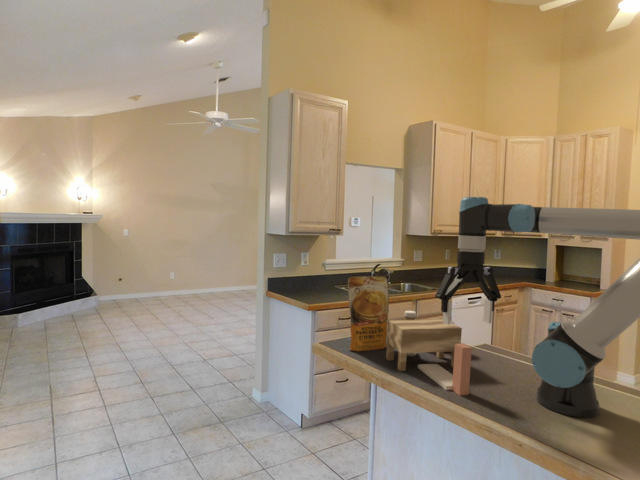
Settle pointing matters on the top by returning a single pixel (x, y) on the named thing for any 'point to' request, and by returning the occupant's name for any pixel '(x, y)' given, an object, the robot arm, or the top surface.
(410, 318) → the sprinkles bottle
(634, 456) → the top surface
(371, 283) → the pancake mix bag
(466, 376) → the plank with pink post
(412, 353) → the steel puck
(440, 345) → the small wooden stool
